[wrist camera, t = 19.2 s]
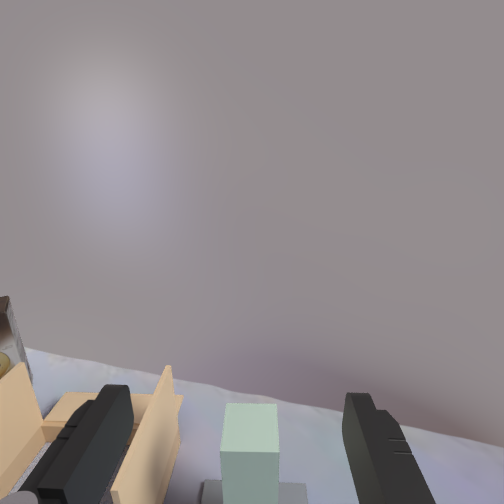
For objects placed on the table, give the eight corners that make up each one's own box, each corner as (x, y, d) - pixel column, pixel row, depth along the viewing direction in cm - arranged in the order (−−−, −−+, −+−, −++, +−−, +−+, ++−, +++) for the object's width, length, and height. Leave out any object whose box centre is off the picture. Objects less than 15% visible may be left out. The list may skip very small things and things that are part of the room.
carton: (-119, 656, 24) (-203, 561, 20) (66, 408, 47) (46, 337, 43) (115, 672, 24) (81, 576, 19) (189, 412, 46) (181, 340, 42)
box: (227, 573, 28) (220, 451, 23) (232, 517, 33) (226, 403, 27) (275, 574, 28) (279, 452, 23) (273, 518, 33) (276, 404, 27)
